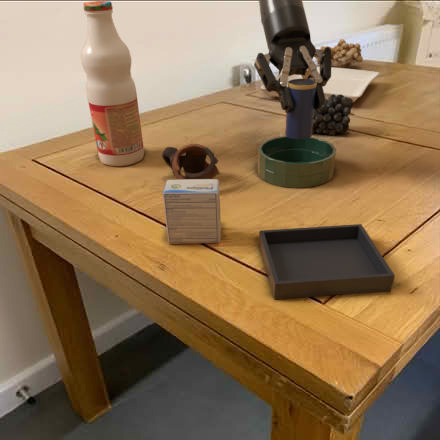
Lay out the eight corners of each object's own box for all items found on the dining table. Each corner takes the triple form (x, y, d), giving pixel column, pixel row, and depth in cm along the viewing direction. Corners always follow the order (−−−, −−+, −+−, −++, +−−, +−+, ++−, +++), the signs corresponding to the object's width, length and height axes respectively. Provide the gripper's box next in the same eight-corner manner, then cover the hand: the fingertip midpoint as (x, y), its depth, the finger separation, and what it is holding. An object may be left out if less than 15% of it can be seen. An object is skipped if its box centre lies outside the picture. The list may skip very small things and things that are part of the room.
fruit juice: (137, 168, 94) (114, 5, 76) (92, 166, 95) (60, 6, 78) (150, 150, 101) (131, -2, 84) (108, 149, 102) (81, -1, 85)
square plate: (290, 77, 148) (291, 63, 146) (378, 84, 138) (381, 70, 136) (258, 99, 129) (258, 84, 127) (357, 110, 119) (359, 94, 117)
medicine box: (221, 229, 73) (219, 178, 68) (220, 244, 70) (218, 191, 65) (171, 230, 74) (166, 178, 68) (167, 245, 70) (162, 192, 65)
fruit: (286, 93, 101) (358, 92, 98) (287, 96, 108) (354, 95, 106) (284, 135, 103) (354, 136, 101) (285, 135, 111) (350, 135, 109)
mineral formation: (341, 60, 164) (373, 65, 153) (312, 73, 160) (343, 78, 149) (340, 35, 159) (374, 38, 148) (310, 47, 155) (342, 51, 144)
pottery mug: (228, 177, 90) (228, 149, 82) (204, 215, 87) (202, 189, 79) (175, 153, 92) (170, 124, 85) (150, 189, 89) (142, 162, 82)
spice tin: (308, 129, 87) (313, 77, 81) (315, 138, 83) (320, 85, 77) (282, 131, 87) (285, 79, 81) (287, 140, 83) (290, 86, 77)
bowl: (322, 158, 95) (324, 133, 92) (342, 188, 84) (345, 161, 81) (253, 162, 95) (253, 137, 92) (264, 192, 83) (265, 166, 80)
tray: (358, 238, 70) (361, 223, 69) (391, 291, 60) (395, 275, 58) (258, 244, 70) (259, 230, 68) (274, 299, 59) (275, 283, 58)
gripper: (249, 5, 77) (271, 101, 75) (329, 0, 80) (352, 92, 78) (240, 36, 84) (260, 124, 83) (313, 30, 87) (334, 115, 85)
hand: (304, 108), depth 80 cm, fingers closed on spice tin, 5 cm apart
